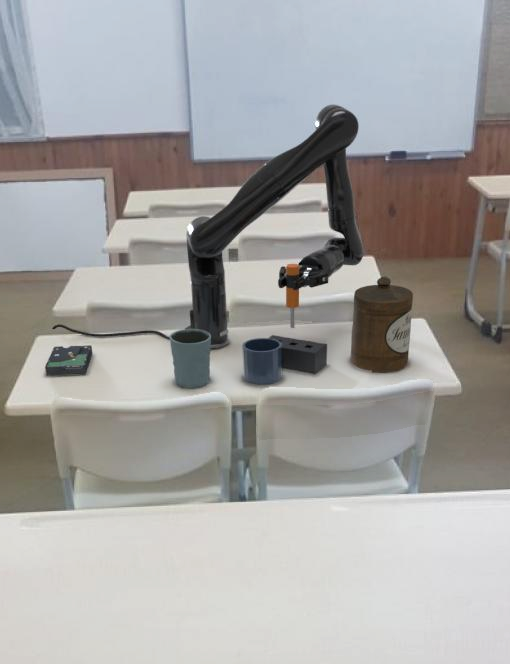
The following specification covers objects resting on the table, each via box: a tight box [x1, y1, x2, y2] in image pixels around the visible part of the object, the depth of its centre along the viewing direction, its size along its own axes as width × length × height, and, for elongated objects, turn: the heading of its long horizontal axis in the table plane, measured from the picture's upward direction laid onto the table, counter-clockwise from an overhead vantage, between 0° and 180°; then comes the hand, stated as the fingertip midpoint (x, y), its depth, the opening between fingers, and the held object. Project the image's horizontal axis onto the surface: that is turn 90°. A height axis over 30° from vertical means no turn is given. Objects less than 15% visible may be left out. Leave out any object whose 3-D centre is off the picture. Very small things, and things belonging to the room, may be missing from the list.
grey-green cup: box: [169, 328, 211, 389], centre depth 209 cm, size 10×10×12 cm
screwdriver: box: [285, 263, 300, 329], centre depth 209 cm, size 3×3×16 cm
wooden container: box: [350, 276, 414, 373], centre depth 214 cm, size 15×15×22 cm
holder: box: [268, 334, 328, 375], centre depth 218 cm, size 16×7×6 cm, turn 61°
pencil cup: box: [241, 337, 283, 386], centre depth 210 cm, size 10×10×9 cm
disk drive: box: [44, 344, 93, 377], centre depth 223 cm, size 10×3×15 cm
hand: (287, 285), depth 205 cm, fingers closed on screwdriver, 3 cm apart
